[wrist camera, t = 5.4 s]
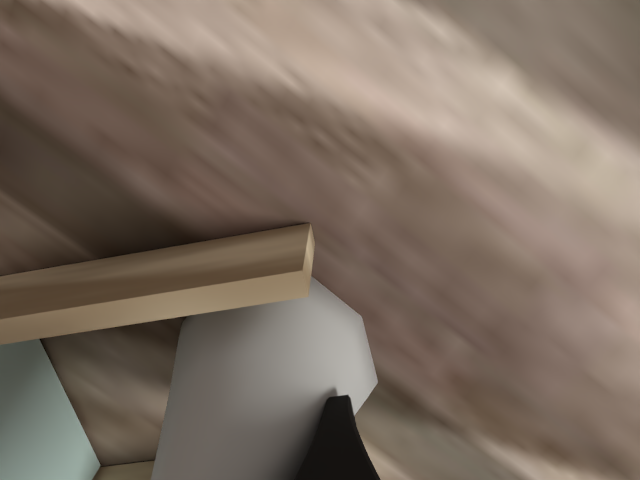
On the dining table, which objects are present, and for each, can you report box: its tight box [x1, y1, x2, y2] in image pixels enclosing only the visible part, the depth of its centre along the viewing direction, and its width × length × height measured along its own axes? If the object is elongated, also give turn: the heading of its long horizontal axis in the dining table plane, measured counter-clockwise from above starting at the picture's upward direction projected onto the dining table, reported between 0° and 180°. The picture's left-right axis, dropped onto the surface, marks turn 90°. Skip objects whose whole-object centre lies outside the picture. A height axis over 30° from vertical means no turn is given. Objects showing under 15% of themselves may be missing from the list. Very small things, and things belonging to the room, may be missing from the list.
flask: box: [151, 276, 378, 480], centre depth 12 cm, size 7×7×10 cm
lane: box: [0, 223, 315, 480], centre depth 15 cm, size 11×17×5 cm, turn 101°
